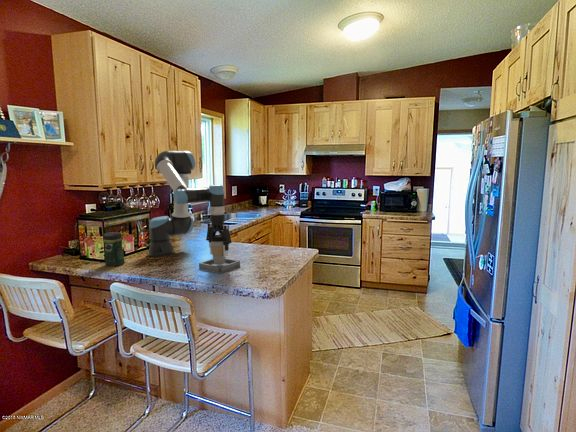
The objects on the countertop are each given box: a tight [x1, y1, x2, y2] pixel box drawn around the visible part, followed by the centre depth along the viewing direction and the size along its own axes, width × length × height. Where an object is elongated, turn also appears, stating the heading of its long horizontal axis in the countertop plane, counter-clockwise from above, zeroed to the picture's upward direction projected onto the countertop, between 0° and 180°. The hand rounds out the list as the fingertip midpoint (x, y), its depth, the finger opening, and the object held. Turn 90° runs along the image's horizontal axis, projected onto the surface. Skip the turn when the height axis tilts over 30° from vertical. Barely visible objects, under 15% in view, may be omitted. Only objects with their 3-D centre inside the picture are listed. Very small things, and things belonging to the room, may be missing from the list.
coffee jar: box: [102, 231, 125, 267], centre depth 194 cm, size 10×8×19 cm
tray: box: [198, 257, 241, 274], centre depth 187 cm, size 16×15×3 cm
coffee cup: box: [210, 234, 227, 265], centre depth 186 cm, size 9×9×15 cm
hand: (219, 254), depth 187 cm, fingers closed on coffee cup, 9 cm apart
